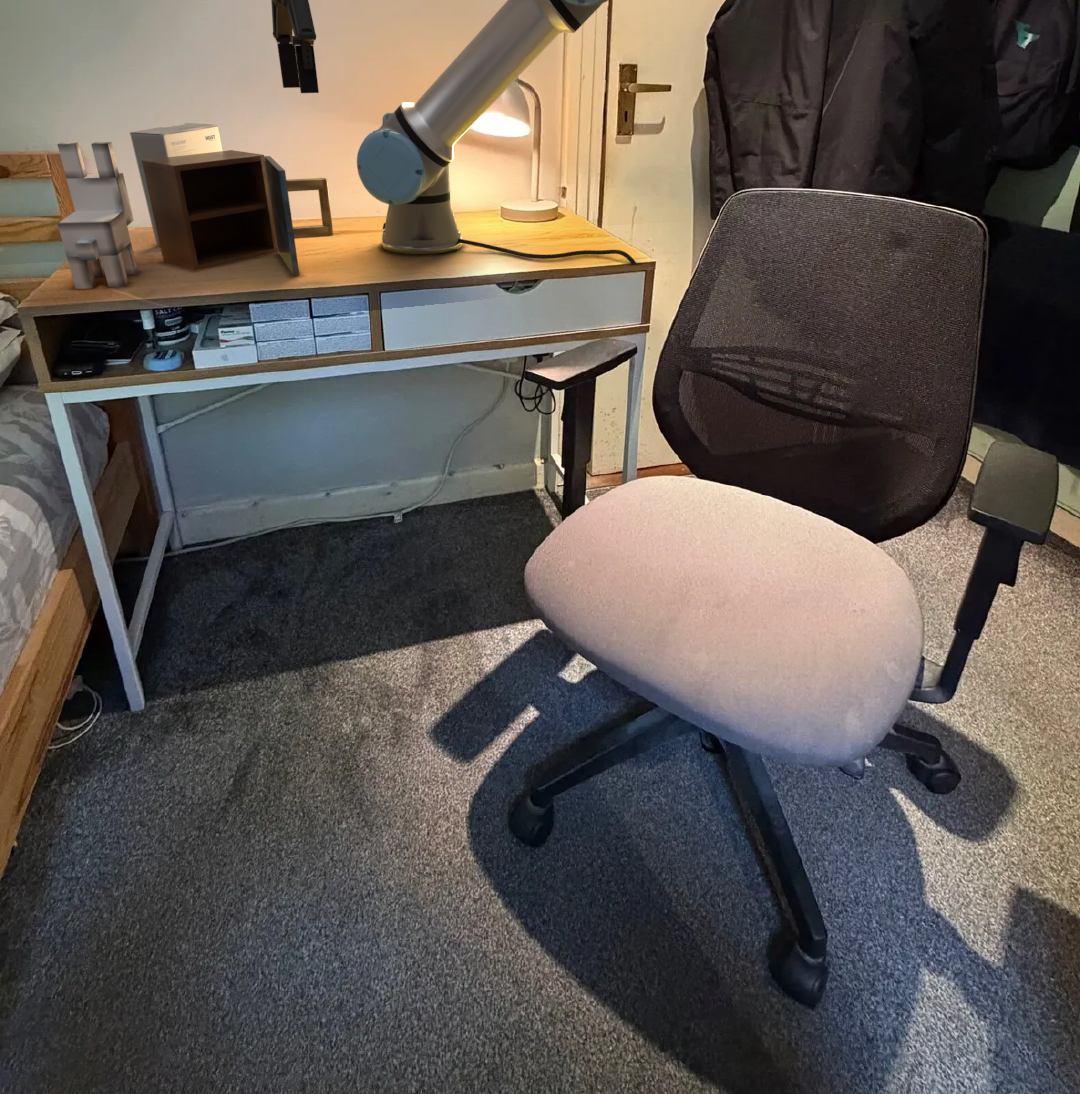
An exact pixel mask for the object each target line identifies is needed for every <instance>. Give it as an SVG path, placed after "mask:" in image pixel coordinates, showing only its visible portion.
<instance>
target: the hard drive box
mask: <svg viewBox="0 0 1080 1094" xmlns="http://www.w3.org/2000/svg"><path fill="white" fill-rule="evenodd" d="M129 136H130V140H131V144H132V148H133V152H134V156H135V161H136V164H137V169H138V173H139V178H140V181H141V186H142V189H143V194H144V198H145V203H146V206H147V211H148V215H149V219H150V223H151V227H152V232H153V236H154V240H155V244H156V246H159V247H160V242H159V238H158V233H157V229H156V224H155V220H154V215H153V210H152V206H151V201H150V197H149V192H148V188H147V183H146V179H145V174H144V169H143V165H142V160H148V159H157V158H166V157H175V156H184V155H193V154H202V153H210V152H219V151H223V146H222V140H221V134H220V129H219V125H218V124H212V123H210V124H209V123H195V122H185V123H178V124H177V123H176V124H171V125H164V126H159V127H153V128H146V129H142V130H141V129H140V130H136V131H130V132H129Z"/></svg>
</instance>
